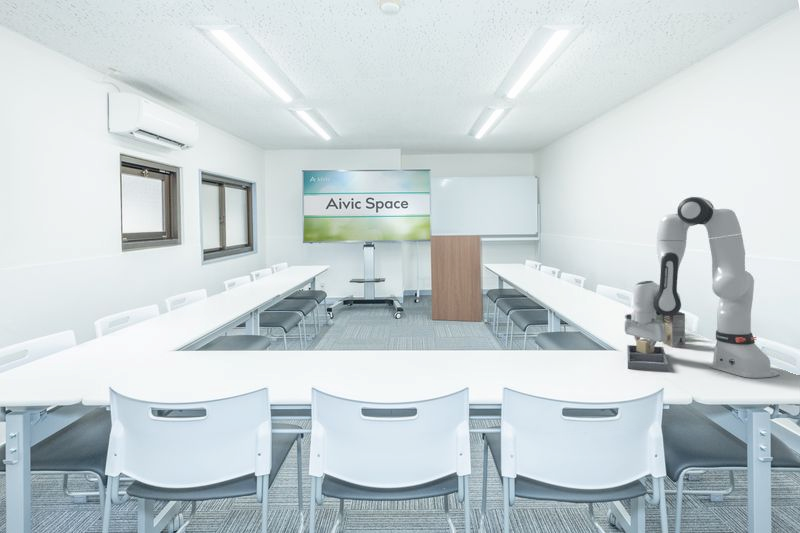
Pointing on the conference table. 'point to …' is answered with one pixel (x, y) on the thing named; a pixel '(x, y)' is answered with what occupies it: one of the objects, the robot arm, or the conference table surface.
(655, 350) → the divided bin
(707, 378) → the conference table surface
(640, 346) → the sandstone block
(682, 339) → the coffee box
